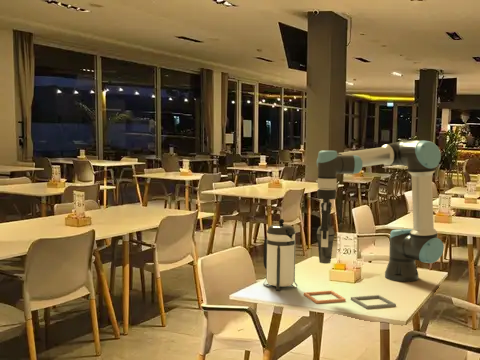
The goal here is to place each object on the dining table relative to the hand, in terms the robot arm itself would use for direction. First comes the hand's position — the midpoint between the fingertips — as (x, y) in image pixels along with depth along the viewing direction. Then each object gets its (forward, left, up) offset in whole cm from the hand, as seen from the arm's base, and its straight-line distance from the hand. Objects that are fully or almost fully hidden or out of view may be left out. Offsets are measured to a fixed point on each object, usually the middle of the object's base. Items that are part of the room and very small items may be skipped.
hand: (325, 245), depth 228 cm
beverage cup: (0, 0, -7) cm, 7 cm away
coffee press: (+12, -22, -22) cm, 33 cm away
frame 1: (0, 0, -22) cm, 22 cm away
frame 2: (-16, +11, -22) cm, 29 cm away
